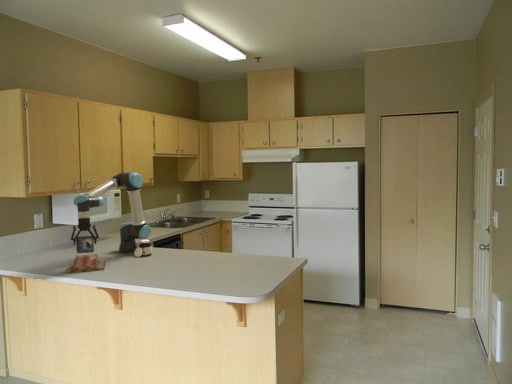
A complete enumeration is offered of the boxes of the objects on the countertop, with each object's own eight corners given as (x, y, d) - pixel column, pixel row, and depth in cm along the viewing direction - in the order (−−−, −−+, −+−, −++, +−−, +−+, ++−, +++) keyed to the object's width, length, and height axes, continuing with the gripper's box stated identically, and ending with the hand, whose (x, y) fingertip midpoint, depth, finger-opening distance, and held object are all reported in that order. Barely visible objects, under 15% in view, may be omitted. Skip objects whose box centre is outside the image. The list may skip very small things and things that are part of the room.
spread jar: (153, 254, 328) (153, 239, 327) (148, 257, 317) (147, 242, 316) (138, 254, 330) (138, 239, 329) (133, 257, 318) (132, 242, 317)
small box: (76, 253, 283) (75, 238, 283) (78, 251, 290) (77, 236, 289) (93, 252, 286) (92, 237, 285) (94, 250, 293) (93, 235, 292)
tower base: (105, 263, 302) (105, 253, 301) (104, 269, 283) (103, 258, 283) (69, 266, 294) (68, 255, 294) (65, 273, 276) (65, 262, 276)
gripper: (64, 219, 279) (66, 251, 281) (101, 217, 286) (102, 249, 288) (66, 217, 286) (68, 249, 288) (102, 215, 293) (103, 246, 295)
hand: (85, 249), depth 288 cm, fingers closed on small box, 10 cm apart
